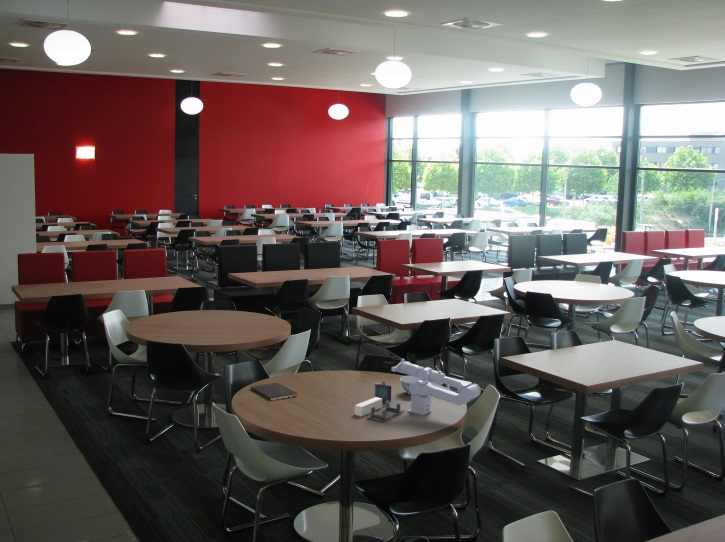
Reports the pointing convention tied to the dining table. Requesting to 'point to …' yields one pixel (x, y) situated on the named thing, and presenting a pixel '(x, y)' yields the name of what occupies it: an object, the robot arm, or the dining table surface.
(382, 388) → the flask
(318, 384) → the dining table surface
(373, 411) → the cup brackets
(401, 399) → the dining table surface
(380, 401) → the rail
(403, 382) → the chinaware
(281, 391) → the hardcover book
